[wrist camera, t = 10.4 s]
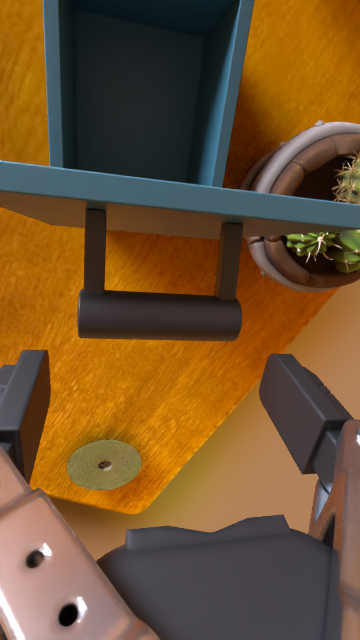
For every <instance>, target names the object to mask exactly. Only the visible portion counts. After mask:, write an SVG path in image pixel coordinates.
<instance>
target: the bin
mask: <svg viewBox="0 0 360 640" xmlns="http://www.w3.org/2000/svg"><path fill="white" fill-rule="evenodd" d="M253 6H254V0H43V18H44V41H45V63H46V86H47V108H48V131H49V154H50V167H58V168H66V169H74V170H82V171H90V172H98V173H106V174H114V175H123V176H131V177H139V178H147V179H155V180H163V181H171V182H179V183H187V184H196V185H204V186H212V187H220V188H222V186H223V181H224V175H225V169H226V163H227V157H228V151H229V146H230V140H231V134H232V128H233V122H234V117H235V111H236V105H237V99H238V93H239V87H240V82H241V76H242V70H243V64H244V58H245V52H246V47H247V41H248V35H249V29H250V23H251V18H252V12H253Z"/></svg>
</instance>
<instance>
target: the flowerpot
mask: <svg viewBox="0 0 360 640" xmlns="http://www.w3.org/2000/svg"><path fill="white" fill-rule="evenodd" d="M238 190H244V191H252V192H260V193H269V194H277V195H285V196H293V197H301V198H309V199H317V200H325V201H334V202H342V203H350V204H358V205H360V124H355V123H349V122H329V123H324V122H322V121H318V122H317V123H316V125H315V126H314V127H311V128H309V129H307V130H305V131H303V132H301V133H299V134H298V135H296V136H295V137H293V138H292V139H291V140H289V141H288V142H287V143H286V142H283V143H281V144H280V146H278V147H276V148H274V149H273V150H271V151H270V152H269V153H267V154H266V155H265V156H263V157H262V158H261V159H260V160H259V161H258V162H257V163H256V164H255V165H254V166H253V167H252V168H251V170H250V171H249V172H248V174H247V175H246V177H245V179H244V180H243V183H242V185H241V186H240V187H239V188H238ZM244 238H245V239H246V243H247V246H248V249H249V251H250V254H251V256H252V258H253V260H254V262H255V263H256V265H257V266H258V267H259V268H260V269H261V275H262V276H268V277H269V278H270V279H272V280H274V281H275V282H277V283H279V284H281V285H283V286H285V287H288V288H290V289H292V290H295V291H298V292H324V291H328V290H332V289H334V288H337V287H339V286H344V285H347V284H350V283H353V282H355V281H357V280H359V279H360V230H351V231H336V232H320V233H305V234H290V235H275V236H260V237H244Z"/></svg>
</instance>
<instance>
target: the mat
mask: <svg viewBox="0 0 360 640" xmlns="http://www.w3.org/2000/svg"><path fill="white" fill-rule="evenodd" d="M141 465H142V460H141V456H140V454H139V453H138V451H137V450H136V449H135V448H134V447H132V446H131V445H129V444H126V443H124V442H121V441H118V440H117V441H116V440H109V439H107V440H99V441H94V442H91V443H88V444H86V445H84V446H82V447H80V448H79V449H77V450H76V451H75V452H74V453H73V454H72V455H71V457H70V458H69V461H68V463H67V473H68V475H69V477H70V479H71V480H72V481H73V482H75V483H76V484H77V485H79V486H81V487H84V488H86V489H91V490H109V489H110V490H112V489H115V488H119V487H121V486H123V485H125V484H127V483H129V482H131V481H132V480H133V479H134V478H135V477H136V476H137V475H138V473H139V472H140V469H141Z"/></svg>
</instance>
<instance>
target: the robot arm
mask: <svg viewBox="0 0 360 640" xmlns="http://www.w3.org/2000/svg"><path fill="white" fill-rule="evenodd" d="M50 394H51V386H50V369H49V355H48V351H47V350H23V351H22V353H21V355H20V357H19V359H18V362H17V364H16V365H4V366H3V367H1V368H0V640H360V420H354V419H353V417H352V416H351V415H350V414H349V413H348V411H346V409H345V408H344V407H343V406H342V405H341V404H340V402H339V401H338V400H337V399H336V398H335V397H334V395H333V394H331V393H330V391H329V390H328V388H327V387H326V386H324V384H323V383H322V382H321V380H320V379H319V378H318V377H317V376H316V375H315V374H314V373H312V372H311V371H309V370H308V369H306V368H305V367H302V366H301V365H300V363H299V362H298V361H297V360H296V359H295V357H294V356H293V355H291V354H271V355H270V356H269V357H268V360H267V363H266V366H265V370H264V373H263V377H262V380H261V384H260V389H259V395H260V399H261V402H262V404H263V406H264V407H265V409H266V411H267V413H268V415H269V417H270V418H271V420H272V422H273V424H274V425H275V427H276V429H277V431H278V432H279V434H280V436H281V438H282V439H283V441H284V443H285V445H286V447H287V448H288V450H289V452H290V454H291V455H292V457H293V459H294V461H295V462H296V464H297V466H298V467H299V470H300V471H301V473H302V474H315V473H317V475H318V477H319V479H318V481H317V484H316V489H315V494H314V501H313V507H312V514H311V519H310V526H309V532H308V534H305V533H303V532H300V531H298V530H294V529H290V528H289V526H288V524H287V522H286V520H285V517H284V515H274V516H263V517H253V518H247V519H244V520H242V521H239V522H237V523H235V524H232V525H230V526H228V527H225V528H223V529H220V530H218V531H216V532H211V533H208V532H202V531H195V530H190V529H184V528H178V527H171V526H161V527H151V528H141V529H131V530H127V531H126V542H125V545H122V546H120V547H117V548H115V549H114V550H112V551H110V552H108V553H106V554H105V555H104V556H102V557H101V558H100V559H98V560H97V561H96V562H95V560H94V559H93V558H92V556H91V555H90V553H89V552H88V551H87V549H86V548H85V547H84V545H83V544H82V542H81V541H80V540H79V538H78V537H77V536H76V535H75V533H74V531H73V530H72V529H71V527H70V526H69V525H68V523H67V522H66V520H65V519H64V518H63V516H62V515H61V514H60V512H59V511H58V510H57V508H56V507H55V505H54V504H53V503H52V501H51V500H50V499H49V497H48V496H47V495H46V493H45V492H44V491H43V490H42V489H40V488H37V489H35V490H32V489H31V488H30V486H29V483H30V479H31V475H32V471H33V467H34V463H35V459H36V456H37V452H38V448H39V444H40V440H41V436H42V432H43V428H44V424H45V420H46V416H47V412H48V408H49V403H50Z"/></svg>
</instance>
